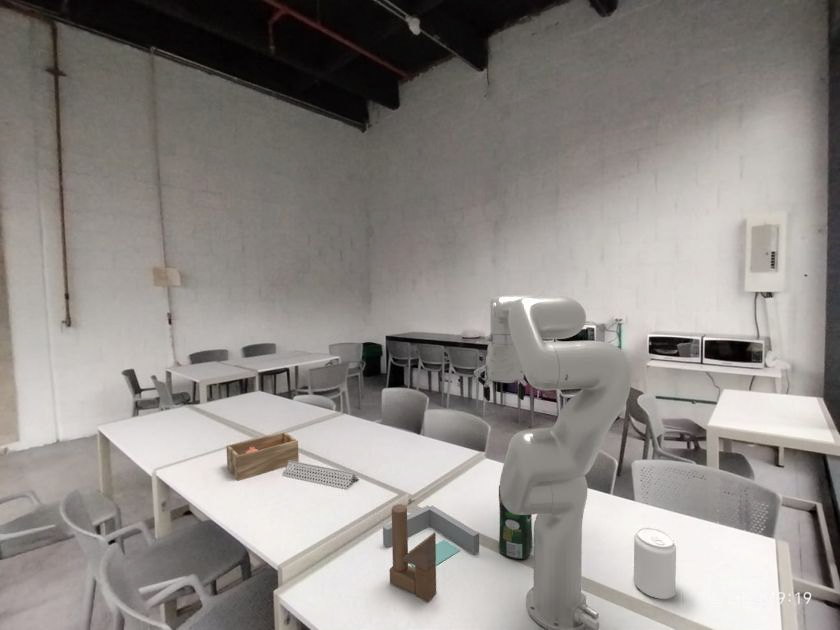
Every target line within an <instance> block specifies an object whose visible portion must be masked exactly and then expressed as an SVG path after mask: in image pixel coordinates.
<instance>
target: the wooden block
mask: <svg viewBox="0 0 840 630" xmlns="http://www.w3.org/2000/svg"><path fill="white" fill-rule="evenodd" d="M407 515H408V507H407V506H406V505H405V504H402V503H400V504H395V505H393V506H392V507H391V523H392V546H391V548H392V553H391V554H392V566H391V567H390V568H389V584H391V585H393V586H395V587H397V588H398V589H401V590H403V591H405V592H407V593H409V594H411V595H413V596H415V597H416V598H419V599H421V600H423V601H424V602H427V603H429V602H430V601H431V600H432V598H433V597H434V596H435V594H436V593H437V565H436V563H435V562H436V544H437V543H436V541H437V540H436V539H437V538H436V536H437V535H436V532H433V533H431V535H428V537H427V538H425V539H424V540H422V541H421V542H420V543H419V544H417V545H416V546H414V547H413V548H412V549H411V550H409V547H408V546H409V543H408V542H409V539H408V538H409V537H408V531H407ZM409 563H410V564H413V565H415V568H414V567H413V566H411V565H410V564H409Z"/></svg>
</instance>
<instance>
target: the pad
mask: <svg viewBox="0 0 840 630" xmlns="http://www.w3.org/2000/svg"><path fill="white" fill-rule="evenodd" d="M460 551H461V550H460V549H459V548H457V547H456V546H454V545H453V544H452V543H450V542H449V541H447V540H445V539H442V540H441V541H439V542H437V543H436V562H435V563H436V566H438V565H440V564H441V563H443V562H445V561H446V560H447V559H450V558H451V557H453V556H454V555H456V554H457V553H459V552H460ZM408 565H409V566H411V567H413V568H415V565H413V564H410V563H408Z"/></svg>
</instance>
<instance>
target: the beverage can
mask: <svg viewBox="0 0 840 630" xmlns="http://www.w3.org/2000/svg"><path fill="white" fill-rule="evenodd" d="M633 547H634V548H633V582H634V584H635V586H636V587H637V588H638V589H639V590H640V591H641V592H643V593H644V594H645V595H647V596H650V597H653V598H656V599H661V600H666V599H671V598H673V597H674V596H675V594H676V577H677V576H676V575H677V573H676V572H677V571H676V570H677V565H676V564H677V547H676V544H675V542H674V539H673V537H672V536H671V535H670V534H669V533H667V532H665V531H663V530H660V529H659V528H656V527H655V528H654V527H640V528H638V529H637V531H636V533H635V534H634V539H633Z"/></svg>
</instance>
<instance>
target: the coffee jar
mask: <svg viewBox="0 0 840 630" xmlns="http://www.w3.org/2000/svg"><path fill="white" fill-rule="evenodd" d="M498 502H499V506H498V507H499V533H498V534H499V535H498V536H499V537H498V538H499V540H498V543H499V544H498V547H499V551H500V553H501V554H503V555H505V556H506V557H507V558H510V559H514V560H525V559H526V558H527V557H528V556H529V554H530V553H531V550H532V547H533V525H532V523H533V522H532V520H533V519H532V517H533V516H532V515H533V514H531V515H515V514H513V513H511V512H509V511H508V510H507V509H506V508H505V506H504V505H503V502H502V500H501V496H500V484H499V485H498Z"/></svg>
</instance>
